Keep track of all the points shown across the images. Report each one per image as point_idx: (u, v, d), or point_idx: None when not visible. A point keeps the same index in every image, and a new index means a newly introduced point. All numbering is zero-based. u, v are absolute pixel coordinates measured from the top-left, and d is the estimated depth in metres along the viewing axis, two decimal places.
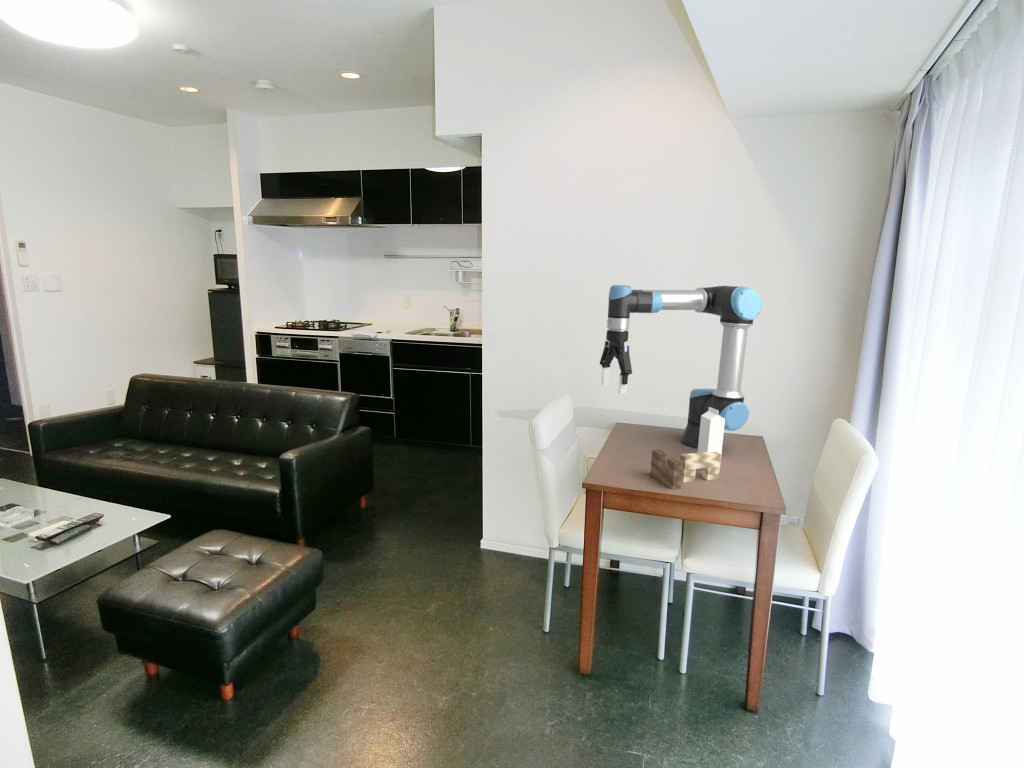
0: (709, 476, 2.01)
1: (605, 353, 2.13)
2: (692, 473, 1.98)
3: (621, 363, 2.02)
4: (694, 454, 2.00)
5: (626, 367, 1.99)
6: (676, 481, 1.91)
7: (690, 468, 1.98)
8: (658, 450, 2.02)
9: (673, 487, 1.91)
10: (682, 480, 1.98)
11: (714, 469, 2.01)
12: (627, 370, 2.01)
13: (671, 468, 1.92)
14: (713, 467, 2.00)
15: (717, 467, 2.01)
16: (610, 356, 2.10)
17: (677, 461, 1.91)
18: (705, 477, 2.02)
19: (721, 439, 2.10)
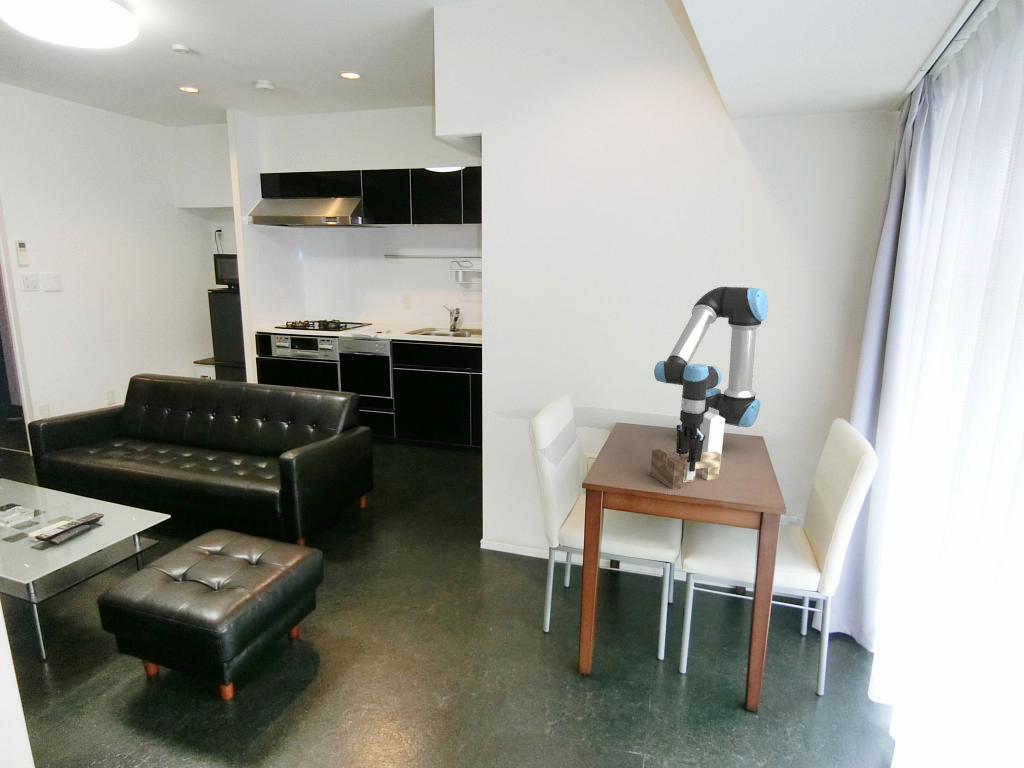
0: (709, 476, 2.01)
1: (680, 438, 2.01)
2: None
3: (691, 449, 1.95)
4: None
5: (696, 456, 1.93)
6: (676, 481, 1.91)
7: None
8: (658, 450, 2.02)
9: (673, 487, 1.91)
10: (682, 480, 1.98)
11: (714, 469, 2.01)
12: None
13: (671, 468, 1.92)
14: (713, 467, 2.00)
15: (717, 467, 2.01)
16: (686, 440, 1.98)
17: (677, 461, 1.91)
18: (705, 477, 2.02)
19: (721, 439, 2.10)
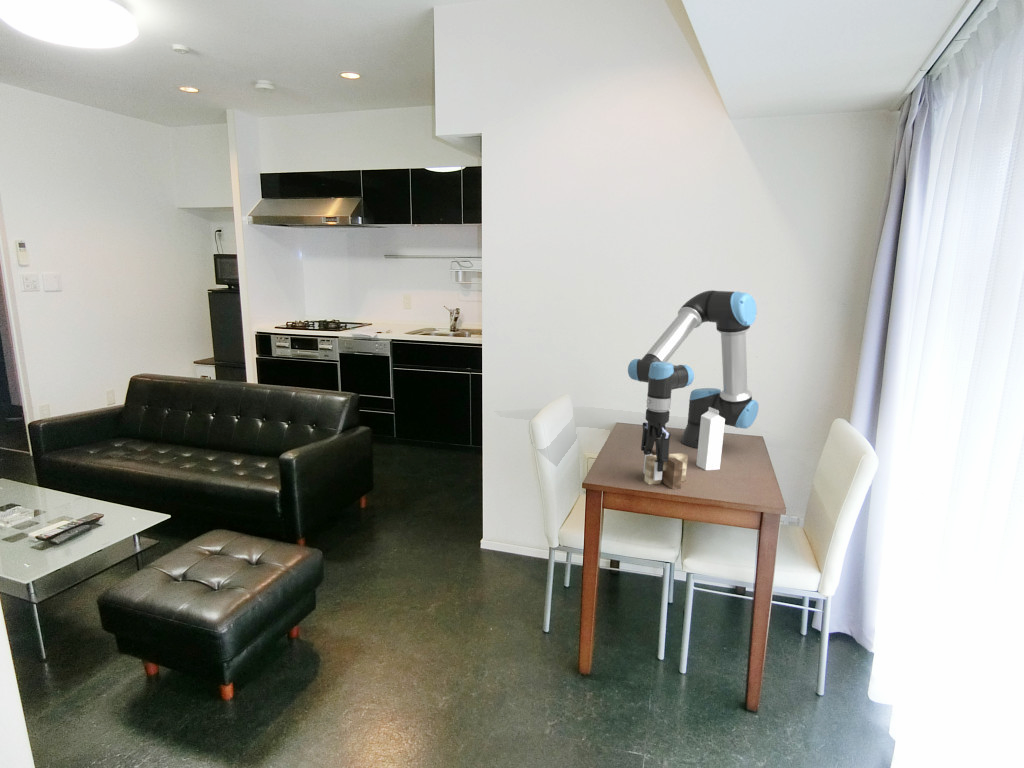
0: None
1: (645, 436, 1.99)
2: None
3: (658, 449, 1.91)
4: None
5: (663, 455, 1.88)
6: (676, 481, 1.91)
7: None
8: None
9: (673, 487, 1.91)
10: (648, 482, 1.95)
11: None
12: None
13: (671, 468, 1.92)
14: None
15: (684, 469, 1.98)
16: (651, 438, 1.96)
17: (677, 461, 1.91)
18: None
19: (721, 439, 2.10)
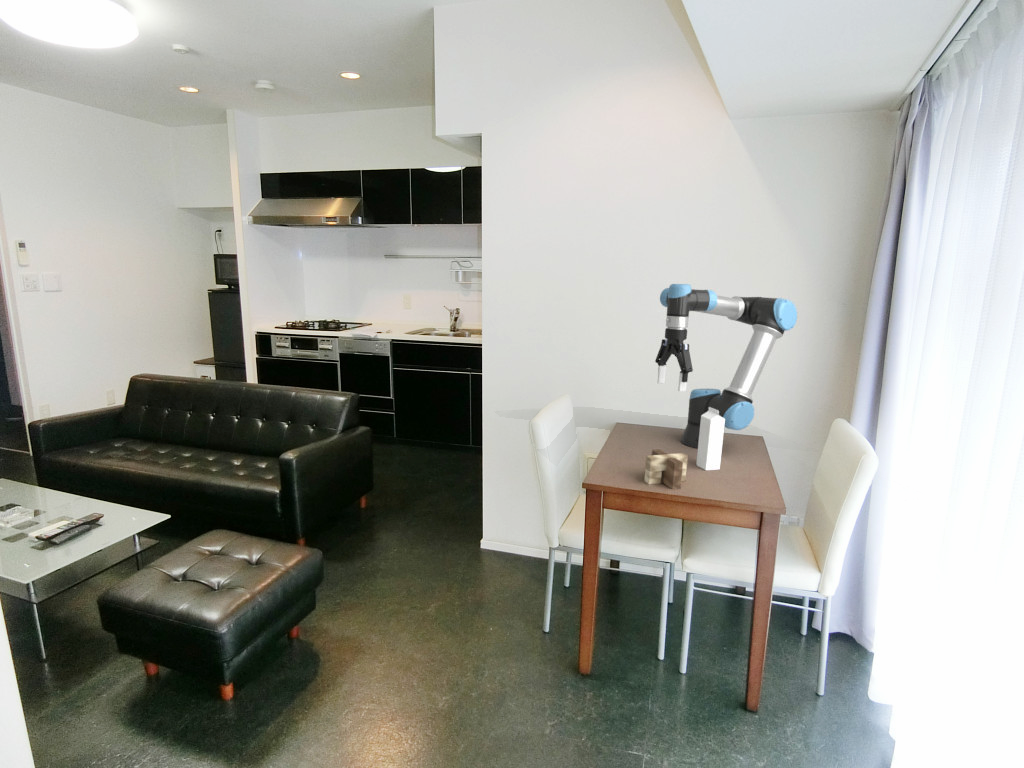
0: None
1: (662, 351, 2.16)
2: (658, 475, 1.95)
3: (681, 361, 2.04)
4: (660, 455, 1.97)
5: (687, 365, 2.01)
6: (676, 481, 1.91)
7: (656, 470, 1.95)
8: (658, 450, 2.02)
9: (673, 487, 1.91)
10: (648, 482, 1.95)
11: None
12: None
13: (671, 468, 1.92)
14: None
15: (684, 469, 1.98)
16: (667, 354, 2.13)
17: (677, 461, 1.91)
18: None
19: (721, 439, 2.10)
